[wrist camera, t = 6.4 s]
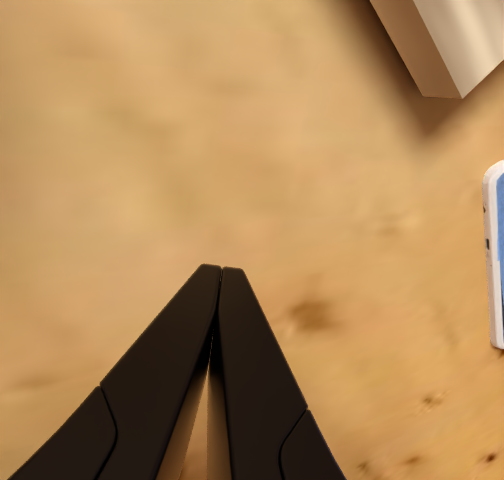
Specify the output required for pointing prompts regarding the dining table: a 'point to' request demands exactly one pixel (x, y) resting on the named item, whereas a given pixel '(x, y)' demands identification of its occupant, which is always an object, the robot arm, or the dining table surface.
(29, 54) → the dining table surface
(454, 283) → the dining table surface
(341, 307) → the dining table surface
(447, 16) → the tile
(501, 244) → the tablet computer
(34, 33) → the dining table surface
